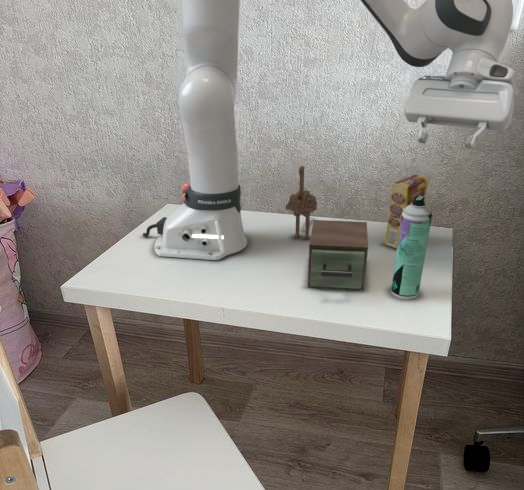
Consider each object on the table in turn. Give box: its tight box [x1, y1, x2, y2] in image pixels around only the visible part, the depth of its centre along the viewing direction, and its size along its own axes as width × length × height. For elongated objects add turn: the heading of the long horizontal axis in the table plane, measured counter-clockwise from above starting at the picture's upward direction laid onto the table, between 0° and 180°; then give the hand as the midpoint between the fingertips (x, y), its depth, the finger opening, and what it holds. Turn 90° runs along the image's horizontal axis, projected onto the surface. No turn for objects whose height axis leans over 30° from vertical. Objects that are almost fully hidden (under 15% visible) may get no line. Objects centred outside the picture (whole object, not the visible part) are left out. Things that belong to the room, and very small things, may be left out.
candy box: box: [384, 174, 430, 250], centre depth 126 cm, size 9×4×15 cm, turn 134°
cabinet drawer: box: [310, 249, 365, 289], centre depth 110 cm, size 17×10×8 cm, turn 172°
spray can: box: [390, 196, 433, 301], centre depth 103 cm, size 6×6×20 cm
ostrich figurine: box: [285, 165, 318, 241], centre depth 132 cm, size 17×7×18 cm, turn 163°
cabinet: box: [307, 219, 369, 291], centre depth 114 cm, size 14×12×10 cm
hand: (444, 144), depth 103 cm, fingers open, 8 cm apart
